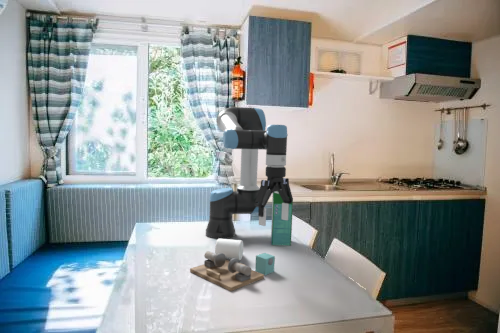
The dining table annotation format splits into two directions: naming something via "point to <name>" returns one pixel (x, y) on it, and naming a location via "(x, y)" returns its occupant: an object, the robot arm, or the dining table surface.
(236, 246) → the mug
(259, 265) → the block
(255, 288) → the dining table surface
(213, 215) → the robot arm
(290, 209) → the milk carton
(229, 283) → the shaft board
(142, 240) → the dining table surface
